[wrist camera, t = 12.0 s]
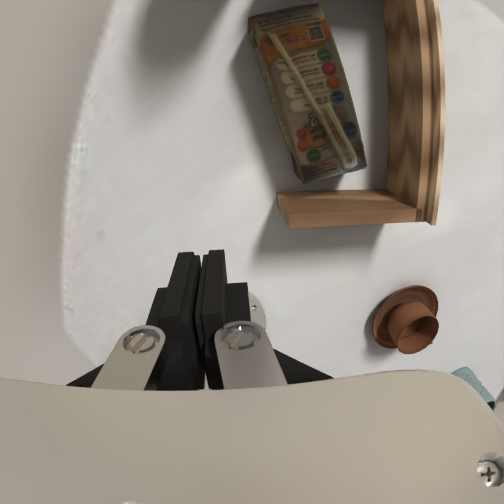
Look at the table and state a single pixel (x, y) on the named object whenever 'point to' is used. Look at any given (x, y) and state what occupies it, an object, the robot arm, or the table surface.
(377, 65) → the table surface
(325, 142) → the beverage carton
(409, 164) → the frame
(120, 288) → the table surface
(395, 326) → the cup and saucer
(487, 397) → the teal cup
